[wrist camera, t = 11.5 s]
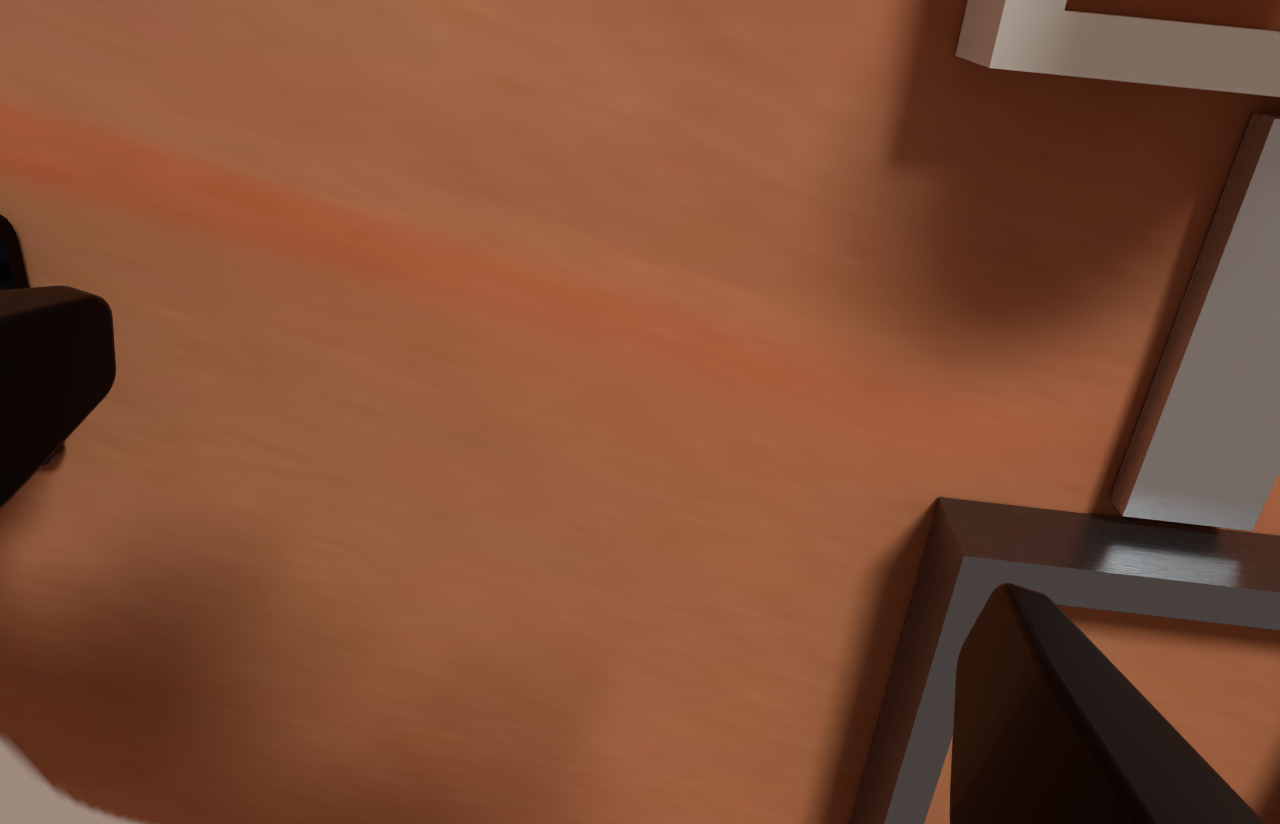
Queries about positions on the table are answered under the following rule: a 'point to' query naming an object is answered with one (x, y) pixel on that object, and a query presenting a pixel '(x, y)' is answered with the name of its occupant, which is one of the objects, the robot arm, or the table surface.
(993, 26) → the collar
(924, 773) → the collar
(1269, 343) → the rail strip
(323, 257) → the table surface
